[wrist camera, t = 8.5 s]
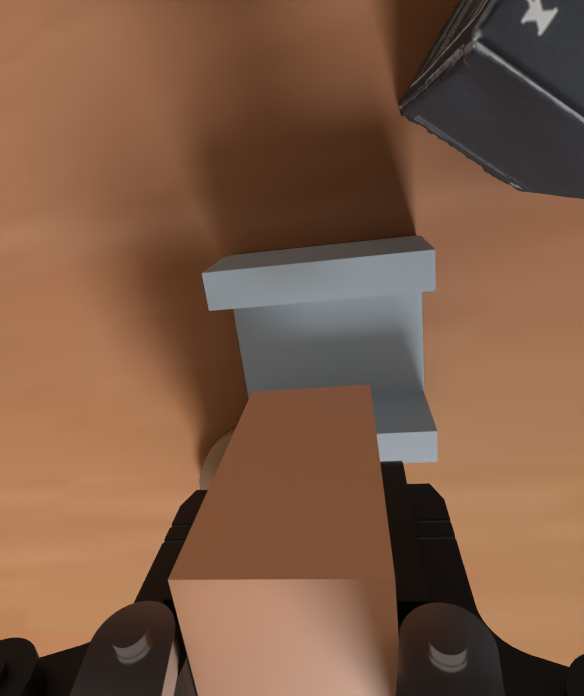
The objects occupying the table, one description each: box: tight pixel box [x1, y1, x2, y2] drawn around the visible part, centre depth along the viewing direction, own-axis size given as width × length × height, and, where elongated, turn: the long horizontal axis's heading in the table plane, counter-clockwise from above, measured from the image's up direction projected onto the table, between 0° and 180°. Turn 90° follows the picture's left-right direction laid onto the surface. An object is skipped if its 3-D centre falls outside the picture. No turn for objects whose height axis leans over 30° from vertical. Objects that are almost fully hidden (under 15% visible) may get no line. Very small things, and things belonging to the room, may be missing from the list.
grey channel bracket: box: [202, 235, 438, 463], centre depth 19 cm, size 8×8×4 cm
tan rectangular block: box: [168, 384, 399, 696], centre depth 9 cm, size 3×4×6 cm
